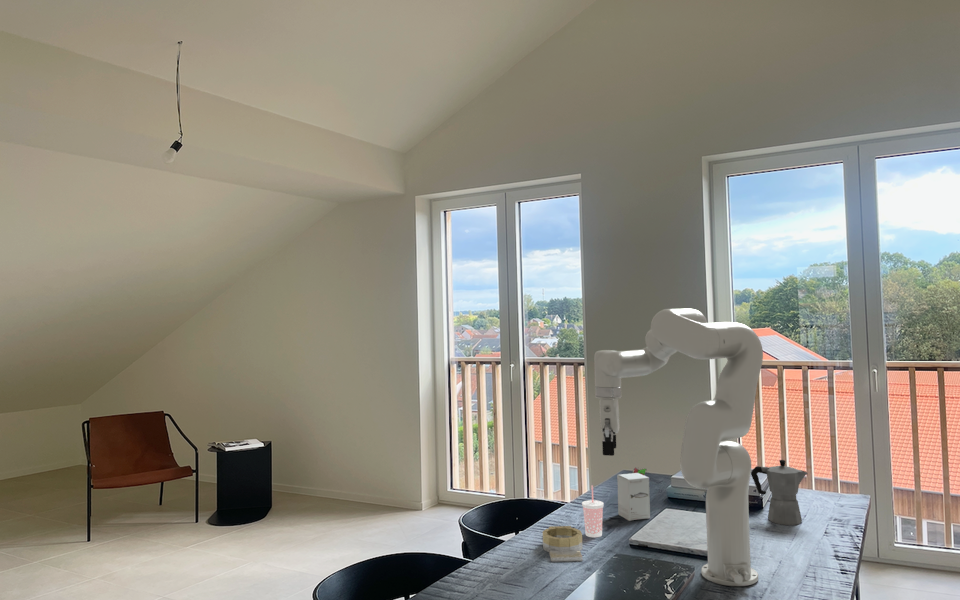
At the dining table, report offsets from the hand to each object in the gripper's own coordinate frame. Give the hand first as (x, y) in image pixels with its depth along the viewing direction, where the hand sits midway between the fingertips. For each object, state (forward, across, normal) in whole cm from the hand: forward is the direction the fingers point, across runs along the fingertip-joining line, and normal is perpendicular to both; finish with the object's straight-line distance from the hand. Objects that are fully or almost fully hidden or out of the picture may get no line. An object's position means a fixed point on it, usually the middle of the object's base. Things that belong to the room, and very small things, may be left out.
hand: (609, 451), depth 192 cm
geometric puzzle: (+23, +52, -7) cm, 57 cm away
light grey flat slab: (+23, -19, +11) cm, 32 cm away
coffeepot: (+23, +18, -48) cm, 56 cm away
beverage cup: (+23, -5, +5) cm, 24 cm away
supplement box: (+23, +14, -6) cm, 28 cm away
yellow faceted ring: (+23, -15, +13) cm, 30 cm away
